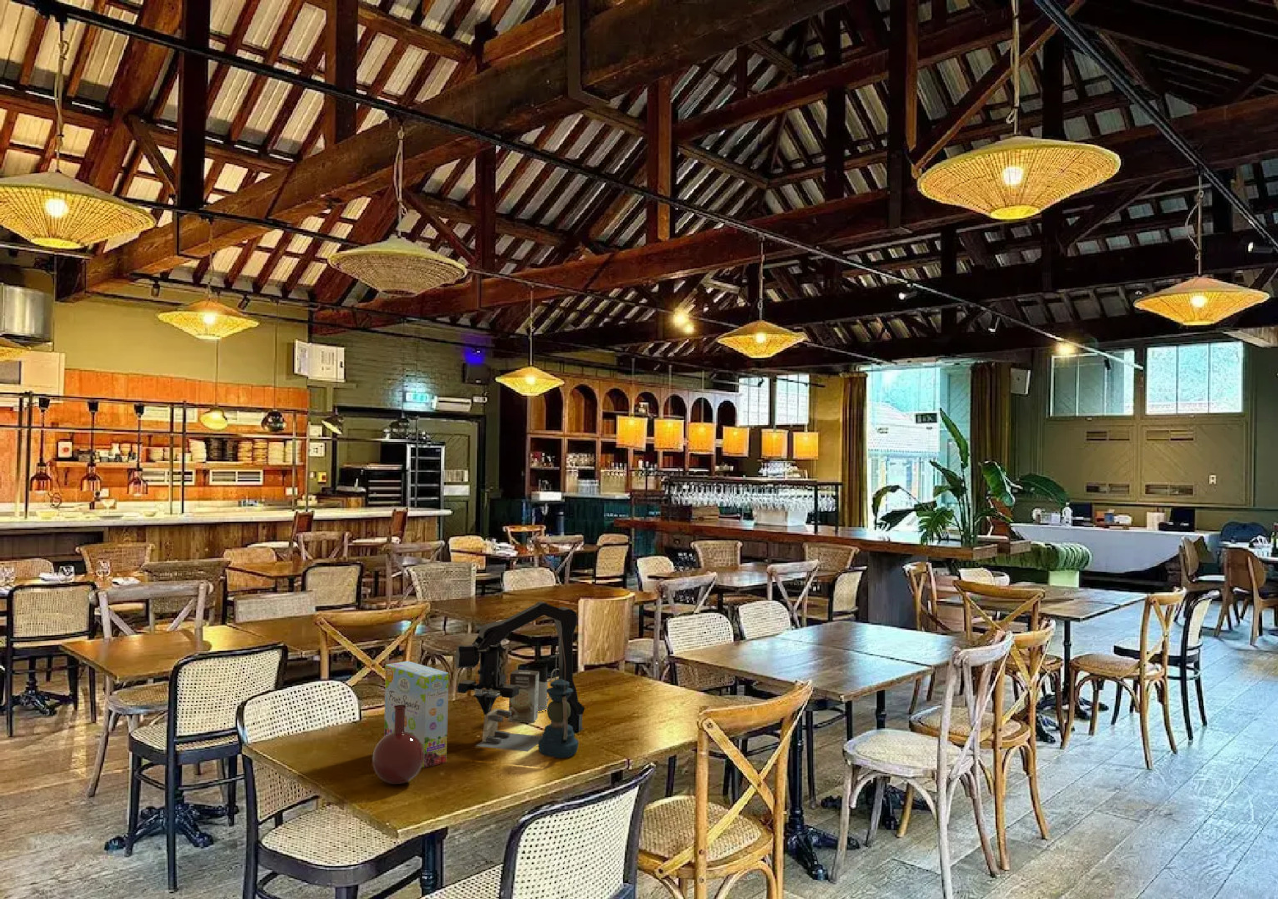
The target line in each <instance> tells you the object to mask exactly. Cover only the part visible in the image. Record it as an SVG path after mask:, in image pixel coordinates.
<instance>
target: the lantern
mask: <svg viewBox="0 0 1278 899" xmlns="http://www.w3.org/2000/svg"><path fill="white" fill-rule="evenodd" d="M561 639H562V634H561V636H560V640H561ZM559 645H560V641H559V640H558V646H557V650H556V657H555V663H557V659H558V656H559ZM562 647H563V641H562ZM563 655H564V648H563ZM564 663H565V656H564ZM554 669H555V671H554V672H555V673H554V680H553V681H550V683H549V685H550V687H549V688H548V687H547V690H546V691H547V696H548V697H551V698H550V699H551V701H550V702H548V704H547V707H548V708H547V711H546V714H547V717H548V719H549V720H550V721H551V722H550V724H547V725H546V726H544V731H543V732H542V739H540V740H539V742H538V744H537V746H538V751H539V753H540V754H541V755H543V756H545V757H552V758H554V759H565V758H570V757H573V756H575V755H576V754H577V751H578V748H579V740H578V739H577V738H576V737H575V734H576V733H574V732H573V727H572V726H570V725H568V723H567V719H568V718H569V716H570V705H569V703H568V702H567V700H568V697H570V696H571V693H572V692H573V689H571V688H567V687H568V686H569V682H567V681H565V680H562V679H559V678H558V679H556V678H557V670H556V669H557V665H555V667H554ZM565 677H566V665H565ZM575 753H576V754H575ZM574 754H575V755H574Z"/></svg>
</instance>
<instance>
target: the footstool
mask: <svg viewBox="0 0 1278 899" xmlns="http://www.w3.org/2000/svg"><path fill="white" fill-rule="evenodd" d="M511 714H512V711H509V710H505V709H500V708H494V709H491V711H490V712H489V713H487V714H485V715H484V718H483V731H482V741H484V742H490V743H495V744H500V743H501V738H497V737H494V736H498V737H504V738H509V737H510V733H511V732H510V731H503V730H499V729H498V726H499V723H502V722H503V721H504V717H508V718H509V717H510V716H511ZM482 741H481V742H482Z"/></svg>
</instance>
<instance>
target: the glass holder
mask: <svg viewBox="0 0 1278 899" xmlns="http://www.w3.org/2000/svg"><path fill="white" fill-rule="evenodd" d="M525 670H528V671H539V691H538V711H542V710H545V709H547V708H548V704H549V702H548V701H549V700H550V699H551V697H550V696H548V693H547V691H546V690H547V689H548V683H549V682H550V683H551V682H552V679H553V674H554V672H555V668H554V669H553V670H552V671H551V673H550V679H549V680H548V665H545V664H529V665H527V666H526V668H525ZM557 670H558V671H559V668H556V671H557Z"/></svg>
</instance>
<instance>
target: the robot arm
mask: <svg viewBox="0 0 1278 899" xmlns="http://www.w3.org/2000/svg"><path fill="white" fill-rule="evenodd" d="M543 616H545V617H549V618H551V619H552V620H553V619H554V620H553V621H554V627H555V629H556V633H557V636H558V642H559V641H560V645H559V644H558V646H559V650H558V669H559V670H558V679H562V680H565V681H567V682H569V686H568V687H567V688H571V689H573V692H572V693H571V696H570V697H568V700H567V702H568V703H569V705H570V716H569V718H568V719H567V723H568V725H570V726H572V727H573V732H574V733H575V734H579V733H580V732H581V731H583V730H584V729H585V728H584V727H583V714H584V712H585V710H586V708H585V706H583V705H582V703H580V701H579V697H578V691H577V688H576V685H575V682H574V665H573V664H574V662H573V660H574V659H573V658H574V656H573V654H574V652H573V651H574V648H573V645H574V644H573V636H574V634H575V631H576V628H577V621H578V615H577V613H576V611H575V610H573V609H571V608H568V607H566V606H560V607H555V606H554V605H551V604H549V603H547V602H546V601H545V602H544V601H541V600H540V601H538V602H536V603H535V604H534V605H532V606H529V607H527V608H525V609H523V610H521V611H519V612H517V613H515V614H513V615H512V616H509V617H508V618H506V619H502V620H498V621H493V622H490V623H486V624H484V625H482V626H481V627H480V629H479V632H478V635H477V637H475V639H474V640H473V642H472V643H471V645H470V644H469V645H463V644H458V645H457V646H456V647H457V648H456V650H455V654H454V664H455V668H456V669H465V668H467V669H468V668H476V666H478V665H479V669H478V670H477V675H478V683H477V682H476V680H468V679H467V680H462V681H461V682H458V684H457V686H456V693H457V694H458V693H459V694H466V693H467V692H468V691H474V694H473V697H474V698H476V699H477V702H478V703H479V705H480V707H481V710H482V713H483V716H485V714H487V713H489V712H491V711H492V710H493V707H494V703H495V702H496V700H497V698H499V697H501V698H507V699H509V698H513V697H515V696H516V695H518V694H519V687H518V686H517V685H510V683H509V684H508V683H507V684H505V682H506V674H504V673H501V668H500V667H499V654H500V653H501V652H506V649H505V648H504V647H503V646H502V644H501V643H500V642H502V641H503V640H505V639H506V638H507V637H508V635H509V634H511V633H513V632H514V631H516V630H518V629H520V628H522V627H524V626H526V625H528V624H529V623H532V622H534V621H536V620H537V619H540V618H541V617H543ZM561 634H562V639H561V640H560V636H561ZM562 641H563V647H562ZM563 648H564V655H563ZM564 656H565V663H564ZM565 665H566V677H565Z"/></svg>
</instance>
